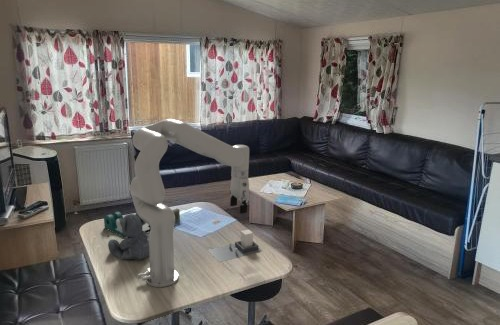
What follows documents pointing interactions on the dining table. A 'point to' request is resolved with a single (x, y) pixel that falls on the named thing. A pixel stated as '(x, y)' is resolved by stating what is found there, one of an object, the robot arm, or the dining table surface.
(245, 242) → the cream rectangular block
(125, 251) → the koala plush
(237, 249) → the grey base with tray
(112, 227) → the dark green rounded piece
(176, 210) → the handheld radio
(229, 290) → the dining table surface
